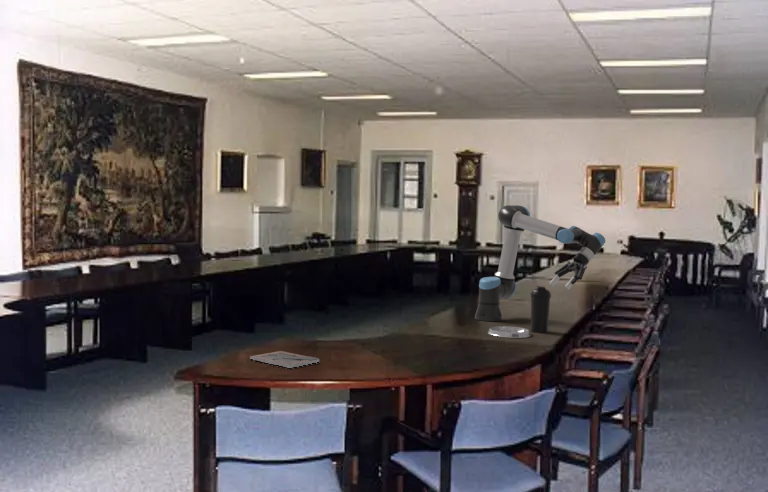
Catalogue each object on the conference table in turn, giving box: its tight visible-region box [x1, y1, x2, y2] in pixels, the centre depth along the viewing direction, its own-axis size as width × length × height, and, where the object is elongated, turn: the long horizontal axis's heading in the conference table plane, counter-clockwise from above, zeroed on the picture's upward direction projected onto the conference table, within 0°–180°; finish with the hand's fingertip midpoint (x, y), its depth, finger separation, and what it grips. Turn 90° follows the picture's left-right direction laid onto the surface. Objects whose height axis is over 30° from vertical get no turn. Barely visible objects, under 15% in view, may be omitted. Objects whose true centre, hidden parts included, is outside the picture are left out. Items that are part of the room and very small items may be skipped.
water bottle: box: [530, 285, 552, 334], centre depth 405 cm, size 10×10×23 cm
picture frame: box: [249, 350, 320, 369], centre depth 310 cm, size 16×2×22 cm
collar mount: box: [487, 325, 531, 339], centre depth 393 cm, size 21×21×2 cm
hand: (558, 286), depth 408 cm, fingers open, 13 cm apart
